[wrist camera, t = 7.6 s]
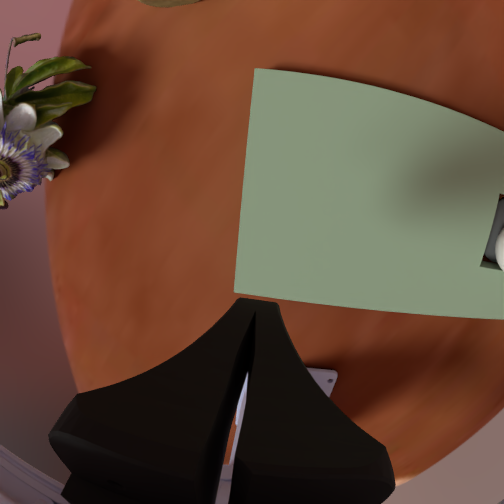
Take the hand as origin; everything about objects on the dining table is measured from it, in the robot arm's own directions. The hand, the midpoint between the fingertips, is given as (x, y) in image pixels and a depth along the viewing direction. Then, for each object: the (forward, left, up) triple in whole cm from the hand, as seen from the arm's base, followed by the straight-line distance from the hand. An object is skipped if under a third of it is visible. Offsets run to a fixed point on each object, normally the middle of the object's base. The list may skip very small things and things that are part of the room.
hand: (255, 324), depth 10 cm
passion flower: (+7, +19, -11) cm, 23 cm away
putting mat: (+3, -11, -10) cm, 15 cm away
